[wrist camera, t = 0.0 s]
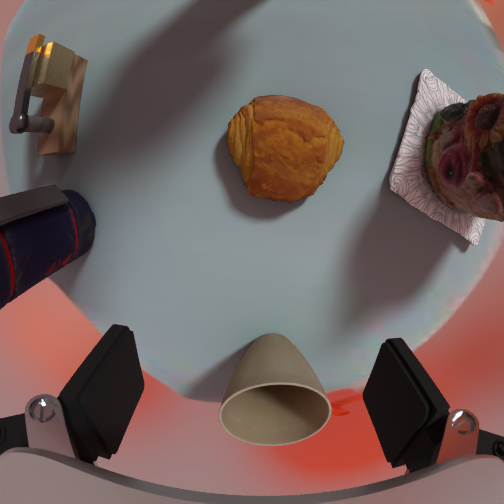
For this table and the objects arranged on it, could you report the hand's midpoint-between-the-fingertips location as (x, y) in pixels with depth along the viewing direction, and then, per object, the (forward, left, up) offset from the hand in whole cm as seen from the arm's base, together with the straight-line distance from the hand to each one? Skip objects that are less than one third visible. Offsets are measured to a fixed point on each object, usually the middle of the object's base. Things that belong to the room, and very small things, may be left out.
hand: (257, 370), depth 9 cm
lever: (-21, -33, -20) cm, 44 cm away
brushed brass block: (-24, -33, -26) cm, 48 cm away
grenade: (+1, -31, -31) cm, 44 cm away
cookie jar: (-14, +34, -32) cm, 48 cm away
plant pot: (+23, +4, -31) cm, 39 cm away
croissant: (-10, +3, -32) cm, 33 cm away
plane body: (-19, -33, -31) cm, 49 cm away
